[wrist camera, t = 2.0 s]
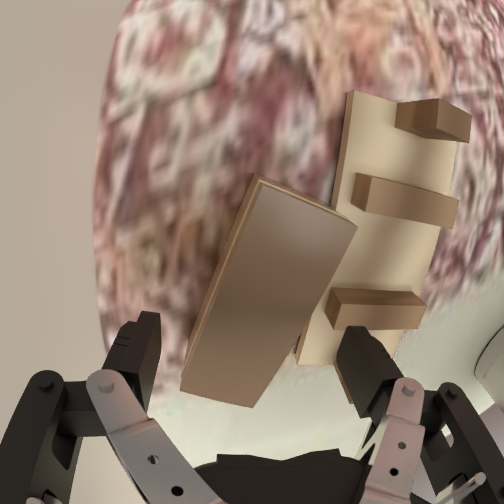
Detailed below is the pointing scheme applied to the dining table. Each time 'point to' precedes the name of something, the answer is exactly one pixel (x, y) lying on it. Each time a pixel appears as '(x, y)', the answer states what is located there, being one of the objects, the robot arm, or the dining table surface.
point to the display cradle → (386, 219)
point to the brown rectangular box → (263, 291)
